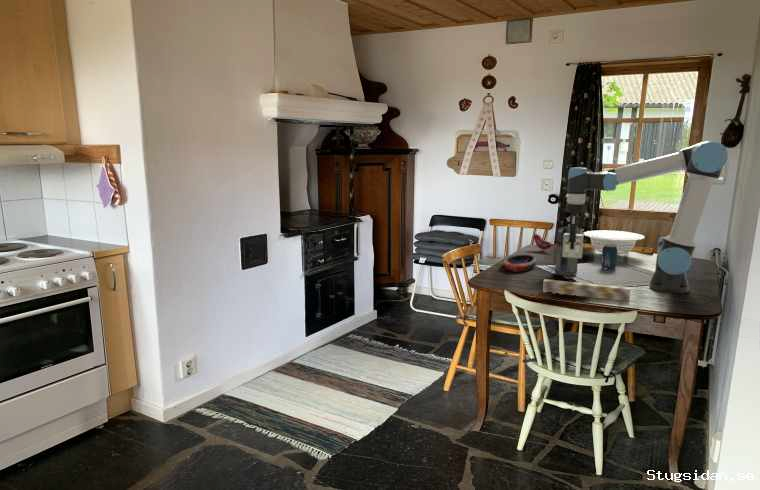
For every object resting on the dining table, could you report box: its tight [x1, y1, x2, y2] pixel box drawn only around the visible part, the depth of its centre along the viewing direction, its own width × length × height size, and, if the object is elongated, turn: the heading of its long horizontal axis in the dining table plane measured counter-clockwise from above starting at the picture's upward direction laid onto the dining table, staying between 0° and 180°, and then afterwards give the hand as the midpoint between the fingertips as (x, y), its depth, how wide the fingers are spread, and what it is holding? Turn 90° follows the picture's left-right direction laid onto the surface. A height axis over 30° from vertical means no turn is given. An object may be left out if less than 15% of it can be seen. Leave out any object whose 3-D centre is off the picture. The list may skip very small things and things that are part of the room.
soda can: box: [601, 244, 618, 270], centre depth 268 cm, size 7×7×12 cm
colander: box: [582, 229, 646, 256], centre depth 294 cm, size 32×32×13 cm
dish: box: [502, 253, 537, 273], centre depth 273 cm, size 16×31×5 cm, turn 148°
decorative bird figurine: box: [532, 233, 558, 253], centre depth 308 cm, size 3×18×10 cm, turn 40°
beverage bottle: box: [554, 225, 580, 277], centre depth 255 cm, size 10×13×25 cm
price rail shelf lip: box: [542, 278, 631, 302], centre depth 221 cm, size 34×4×5 cm, turn 66°
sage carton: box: [562, 233, 585, 259], centre depth 233 cm, size 8×5×10 cm, turn 66°
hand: (572, 254), depth 234 cm, fingers closed on sage carton, 5 cm apart
